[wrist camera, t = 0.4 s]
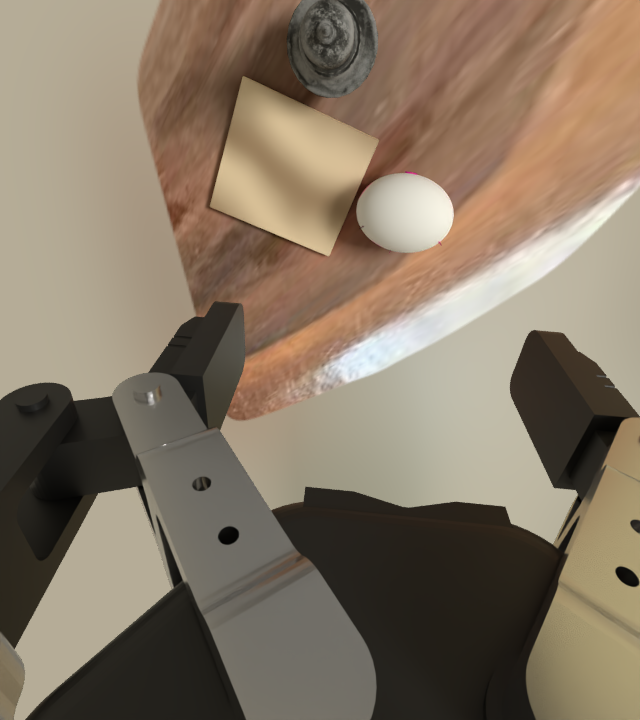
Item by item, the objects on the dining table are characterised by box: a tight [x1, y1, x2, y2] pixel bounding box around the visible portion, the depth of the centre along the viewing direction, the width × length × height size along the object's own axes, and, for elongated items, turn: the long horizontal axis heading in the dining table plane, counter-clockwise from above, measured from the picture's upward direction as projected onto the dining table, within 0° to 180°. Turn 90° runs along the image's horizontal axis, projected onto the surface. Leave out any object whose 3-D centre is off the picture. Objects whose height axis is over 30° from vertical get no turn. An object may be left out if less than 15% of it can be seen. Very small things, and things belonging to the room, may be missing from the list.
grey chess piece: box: [287, 0, 378, 98], centre depth 26 cm, size 6×6×12 cm
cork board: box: [210, 76, 379, 256], centre depth 35 cm, size 10×11×1 cm
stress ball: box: [356, 171, 454, 253], centre depth 35 cm, size 8×8×7 cm
